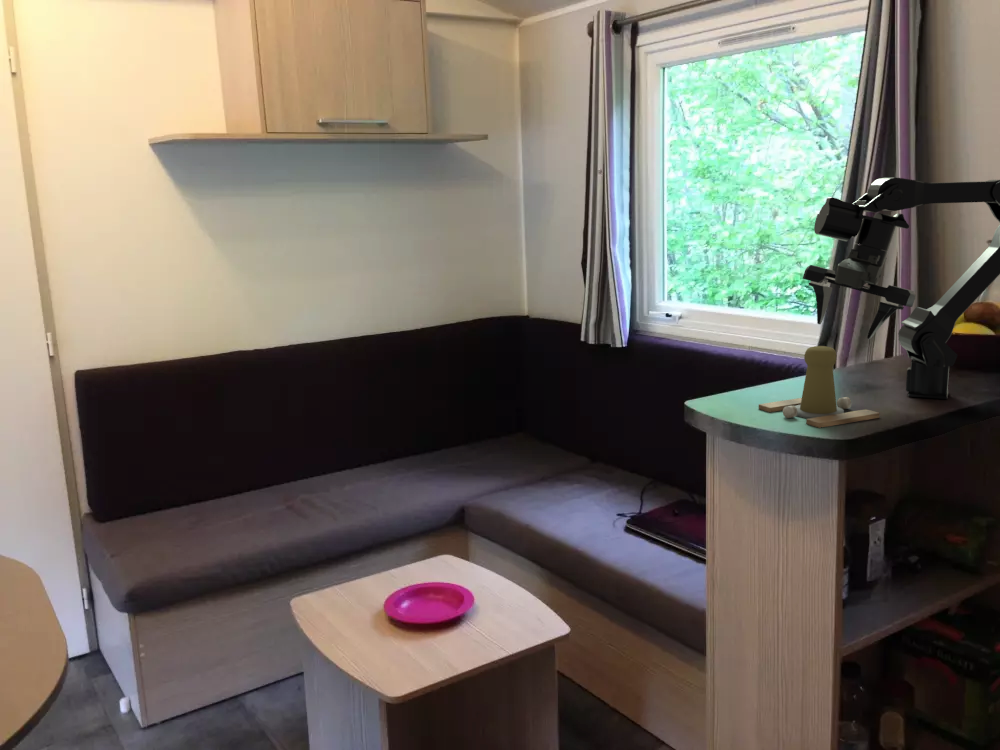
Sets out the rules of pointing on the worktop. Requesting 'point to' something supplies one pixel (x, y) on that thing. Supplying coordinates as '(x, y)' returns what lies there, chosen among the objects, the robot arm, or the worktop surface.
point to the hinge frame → (820, 420)
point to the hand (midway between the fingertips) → (843, 331)
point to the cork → (819, 381)
